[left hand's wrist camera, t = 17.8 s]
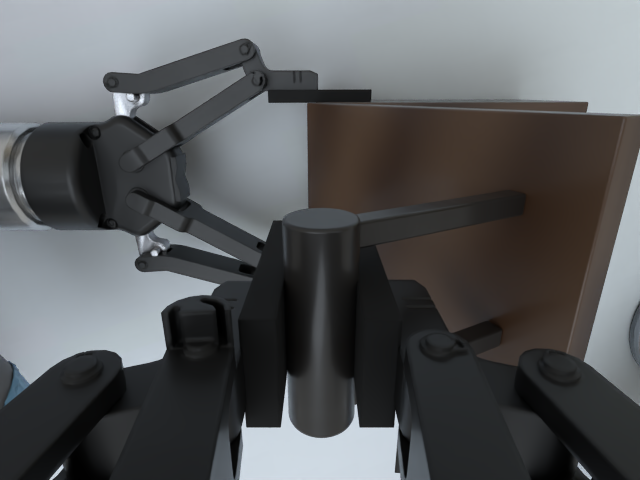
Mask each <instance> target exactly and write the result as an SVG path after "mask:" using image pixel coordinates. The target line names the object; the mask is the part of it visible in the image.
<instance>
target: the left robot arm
mask: <svg viewBox="0 0 640 480" xmlns="http://www.w3.org/2000/svg"><path fill="white" fill-rule="evenodd" d="M161 315H162V322H163V328H164V335H165V341H166V347H167V350H166V352H165V354H164V357H163V359H161V360H158V361H154V362H150V363H146V364H141V365H136V366H131V367H126V368H123V364H122V359H121V357H120V356H119V355H118V354H116V353H115V352H111V351H107V350H94V351H86V352H82V353H78V354H75V355H74V356H71V357H69V358H66V359H64V360H62V361H61V362H59V363H58V364H56V365H54V366H53V367H51V368H50V369H49V370H48V371H46V372H45V373H44V374H43V375H42V376H40V377H39V378H38V379H37V380H35V381H34V382H33V383H32V384H31V385H29V386H28V387H27V388H26V389H25V390H23V391H22V392H21V393H20V394H19V395H17V396H16V397H15V398H14V399H13V400H11V401H10V402H9V403H8V404H7V405H5V406H4V407H3V408H2V409H0V480H49V479H50V478H51V477H52V476H53V474H54V473H55V472H56V471H57V470H58V469H59V467H60V466H61V465H62V464H63V467H64V468H63V469H62V471H61V472H60V473H59V474H58V475H57V476H56V477H55V478H54V479H53V480H239V477H240V467H241V458H242V449H243V442H242V430H241V426H242V422H243V418H244V414H245V415H246V427H281V420H282V412H283V403H284V395H285V386H286V377H287V348H286V320H285V291H284V266H283V238H282V221H273V223H272V226H271V229H270V232H269V234H268V237H267V240H266V243H265V246H264V248H263V251H262V254H261V257H260V260H259V262H258V265H257V268H256V271H255V274H254V276H253V279H252V281H226V282H224V283H223V284H221V285H220V286H219V287H217V288H216V289H214V291H213V293H212V295H211V296H208V295H200V296H192V297H188V298H184V299H181V300H178V301H176V302H174V303H172V304H170V305H169V306H167V307H166V308H165V309H164V310H163V311H162V313H161ZM630 347H631V351H632V354H633V357H634V359H635V361H636V362H637V364H638V365H639V366H640V305H639V307H638V309H637V311H636V313H635V315H634V318H633V321H632V324H631V329H630ZM354 383H355V392H356V400H357V409H358V417H359V426H360V427H394V420H395V410H396V414H397V418H398V423H399V430H398V442H397V453H396V465H395V473H400V476H401V480H590V479H589V478H588V477H586V476H585V475H584V474H583V473H582V471H581V470H580V469H579V468H578V467H577V465H578V462H579V463H580V464H581V465H582V466H583V467H584V469H585V470H586V471H587V472H588V473H589V474H590V475H591V477H592V479H591V480H640V406H639V405H637V404H636V403H635V402H634V401H632V400H631V399H630V398H629V397H628V396H626V395H625V394H624V393H623V392H621V391H620V390H619V389H618V388H617V387H615V386H614V385H613V384H612V383H610V382H609V381H608V380H607V379H606V378H604V377H603V376H602V375H601V374H600V373H598V372H597V371H596V370H595V369H593V368H592V367H591V366H590V365H588V364H586V363H585V362H583V361H582V360H580V359H579V358H577V357H574V356H572V355H569V354H567V353H565V352H562V351H559V350H554V349H542V348H534V349H531V350H527V351H524V352H523V353H522V354H521V355H520V356H519V361H518V366H513V365H508V364H503V363H498V362H493V361H489V360H485V359H482V358H479V357H477V356H476V354H475V352H474V349H473V348H472V347H471V345H470V344H469V343H468V341H466V340H465V339H463V338H462V337H460V336H459V335H456V334H454V333H451V332H449V330H448V328H447V326H446V325H445V323H444V321H443V319H442V317H441V315H440V313H439V311H438V310H437V308H435V304H434V302H433V300H431V297H430V295H429V293H428V291H427V289H426V288H425V287H424V286H422V285H421V284H420V283H418V282H417V281H415V280H388V278H387V275H386V273H385V270H384V267H383V264H382V261H381V259H380V256H379V253H378V250H377V248H376V245H375V246H370V247H365V248H360V261H359V280H358V282H357V299H356V329H355V358H354Z"/></svg>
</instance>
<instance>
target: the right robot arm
mask: <svg viewBox="0 0 640 480" xmlns="http://www.w3.org/2000/svg"><path fill="white" fill-rule="evenodd" d="M242 66H243V69H244V71H245V74H246V76H245V77H243V78H242V79H240V80H239V81H237V82H236V83H234V84H233V85H231V86H229V87H228V88H226V89H225V90H223V91H222V92H220V93H219V94H217V95H216V96H214V97H213V98H211V99H210V100H208V101H207V102H205V103H204V104H202V105H201V106H199V107H198V108H196V109H195V110H193V111H191V112H190V113H188V114H187V115H185V116H184V117H182V118H181V119H179V120H178V121H176V122H175V123H173V124H171V125H169V126H167V127H165V128H164V129H162V130H161V131H158V130H156V129H155V128H153V127H152V126H150V125H149V124H147V123H146V122H144V121H143V120H141V119H140V118H138V117H137V116H136V110H137V109H138V108H139V107H141V106H145V105H147V104H148V103H149V101H150V94H156V93H163V92H166V91H170V90H173V89H176V88H179V87H182V86H185V85H188V84H191V83H194V82H197V81H200V80H203V79H206V78H209V77H212V76H215V75H218V74H221V73H224V72H227V71H230V70H233V69H236V68H239V67H242ZM103 83H104V86H105V87H106V89H107V90H109V91H110V92H113V101H114V110H115V116H114V117H112V118H110V119H109V120H107V121H105V122H49V123H44V124H39V123H0V230H51V229H57V230H122V231H125V232H128V233H130V234H132V235H135V237H136V241H137V245H138V250H139V254H140V256H139V257H138V258H137V259H136V261H135V266H136V268H137V269H138V270H139V271H141V272H153V271H170V272H174V273H178V274H182V275H186V276H190V277H193V278H197V279H201V280H205V281H209V282H213V283H217V284H223V283H224V282H226V281H252V279H253V276H254V274H255V271H256V268H257V265H258V262H259V260H260V257H261V254H262V251H263V248H264V246H265V243H266V242H264V241H262V240H261V239H259V238H257V237H255V236H253V235H251V234H249V233H247V232H245V231H244V230H242V229H240V228H238V227H236V226H234V225H232V224H230V223H228V222H226V221H225V220H223V219H221V218H219V217H217V216H215V215H213V214H211V213H209V212H208V211H206V210H204V209H203V208H202V207H201V206H200V205H199V204H197V203H196V202H194V201H192V200H190V199H188V198H187V197H188V196H189V195H190V191H189V184H188V181H187V179H186V176H185V169H186V156H185V153H182V151H181V149H180V146H181V145H183V144H185V143H186V142H188V141H189V140H191V139H192V138H194V137H195V136H196V135H198V134H199V133H201V132H202V131H204V130H205V129H207V128H208V127H210V126H212V125H213V124H215V123H216V122H218V121H219V120H221V119H222V118H224V117H226V116H227V115H229V114H230V113H232V112H233V111H235V110H236V109H238V108H240V107H241V106H243V105H244V104H246V103H247V102H249V101H250V100H252V99H254V98H255V97H257V96H258V95H260V94H261V93H263V92H264V91H268V101H269V103H307V102H371V90H318V74H317V73H314V72H312V71H272V70H269V69H267V67H266V66H265V64H264V62H263V60H262V57H261V54H260V50H259V48H258V46H256V45H255V44H254V43H253V42H251V41H250V40H248V39H240V40H237V41H234V42H231V43H228V44H225V45H222V46H219V47H216V48H213V49H210V50H208V51H205V52H202V53H199V54H196V55H193V56H190V57H187V58H184V59H181V60H178V61H175V62H172V63H169V64H166V65H163V66H160V67H157V68H155V69H152V70H149V71H146V72H143V73H140V74H132V73H116V72H110V73H107V74H106V75H105V76H104V78H103ZM162 223H163V224H165V225H167V226H169V227H171V228H173V229H175V230H177V231H179V232H187V233H189V234H191V235H193V236H195V237H197V238H199V239H201V240H203V241H205V242H207V243H209V244H211V245H213V246H215V247H216V248H218V249H220V250H222V251H224V252H226V253H228V254H230V255H232V256H234V257H236V258H238V259H240V260H242V261H240V260H237V259H233V258H229V257H225V256H221V255H218V254H214V253H210V252H206V251H203V250H199V249H195V248H191V247H187V246H183V245H176V244H170V242H169V240H168V239H163V238H159V237H157V236H156V235H155V234H154V232H153V230H154V229H155V228H157V227H158V226H159V225H160V224H162ZM29 385H30V384H29V383H28V382H27V381H26V380H25V378H24V377H23V376H22V375H21V374H20V373H19V370H18V369H17V367H16V365H15V364H13V363H11V362H10V361H6V360H5V359H4V358H3V357H2V356H1V355H0V409H2V408H3V407H4V406H5V405H7V404H8V403H9V402H10V401H11V400H13V399H14V398H15V397H16V396H17V395H19V394H20V393H21V392H22V391H23V390H25V389H26V388H27V387H28V386H29Z"/></svg>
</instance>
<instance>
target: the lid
mask: <svg viewBox="0 0 640 480" xmlns="http://www.w3.org/2000/svg"><path fill="white" fill-rule="evenodd" d="M307 128H308V209H303V210H298V211H295V212H292V213H289V214H287V215H286V216H285V217H284V218H283V220H282V238H283V266H284V291H285V320H286V348H287V378H288V406H289V417H290V420H291V422H292V424H293V425H294V426H295V428H296V429H297V430H299V431H300V432H302V433H303V434H305V435H308V436H311V437H316V438H327V437H332V436H335V435H338V434H340V433H342V432H343V431H345V430H346V429H347V428H348V427H349V425H350V424H351V422H352V420H353V418H354V407H355V405H356V404H357V400H356V392H355V383H354V358H355V329H356V299H357V282H358V280H359V261H360V248H365V247H370V246H375V245H376V248H377V250H378V253H379V256H380V259H381V261H382V264H383V267H384V270H385V273H386V275H387V278H388V280H415V281H417V282H418V283H420V284H421V285H422V286H424V287H425V288H426V289H427V291H428V293H429V295H430V297H431V300H433V302H434V304H435V308H437V310H438V311H439V313H440V315H441V317H442V319H443V321H444V323H445V325H446V326H447V328H448V330H449V332H451V333H454V334H456V335H459V336H460V337H462V338H463V339H465V340H466V341H468V343H469V344H470V345H471V347H472V348H473V349H474V352H475V354H476V356H477V357H479V358H482V359H485V360H489V361H493V362H498V363H503V364H508V365H513V366H518V361H519V356H520V355H521V354H522V353H523V352H524V351H527V350H531V349H534V348H542V349H554V350H559V351H562V352H565V353H567V354H569V355H572V356H574V357H577V358H579V359H580V360H582V361H584V358H585V354H586V350H587V346H588V342H589V339H590V335H591V331H592V327H593V323H594V320H595V316H596V312H597V308H598V304H599V301H600V297H601V293H602V289H603V285H604V282H605V278H606V274H607V270H608V267H609V263H610V259H611V255H612V251H613V248H614V244H615V240H616V236H617V232H618V229H619V225H620V221H621V217H622V213H623V210H624V206H625V202H626V198H627V194H628V191H629V187H630V183H631V179H632V175H633V172H634V168H635V164H636V160H637V156H638V153H639V149H640V115H635V114H609V113H583V112H556V111H530V110H503V109H477V108H451V107H424V106H398V105H371V104H345V103H307Z"/></svg>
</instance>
